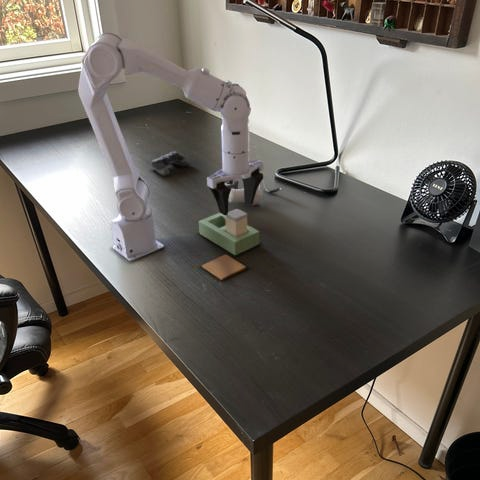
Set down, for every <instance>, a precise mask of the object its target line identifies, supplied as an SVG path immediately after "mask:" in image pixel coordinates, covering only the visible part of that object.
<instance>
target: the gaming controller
mask: <svg viewBox="0 0 480 480" xmlns="http://www.w3.org/2000/svg"><path fill="white" fill-rule="evenodd" d="M175 163H176V164H178V165H180V166H183V167H187V166H190V164H191V159H190V158H188V157H187V156H186V155H184V154H182V153H181V152H178V151H170V152H169V153H166V154H164V155H161V156H159V157H158V158H155V159H152V160H151V161H150V163H149V164H150V168H151V170H152V171H156V172H158V173H159V175H161V176H164V177H165V176H169V175H170V170H169V168H168V166H170V165H172V164H175Z"/></svg>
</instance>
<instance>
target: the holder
mask: <svg viewBox="0 0 480 480" xmlns="http://www.w3.org/2000/svg"><path fill="white" fill-rule="evenodd" d="M198 230H199V232H198V233H199V234H200V235H201V236H202V237H204V238H206V239H207V240H209V241H211V242H212V243H214V244H216V245H217V246H219V247H220V248H222V249H224V250H225V251H227V252H229V253H230V254H232V255H233V256H237V255H239V254H241V253H243V252H246V251H248V250H250V249H252V248H254V247H257V246H259V244H260V231H259V230H257V229H256V228H254V227H252V226H250V225H248V224H247V233H245V234H242V235H240V236H238V237H236V238H235V237H234V236H232V235H230V234H228V233H227V232H226V215H223V214H221V213H220V212H218V213H215V214H212V215H210V216H208V217H205V218H203V219H201V220H198Z"/></svg>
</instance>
